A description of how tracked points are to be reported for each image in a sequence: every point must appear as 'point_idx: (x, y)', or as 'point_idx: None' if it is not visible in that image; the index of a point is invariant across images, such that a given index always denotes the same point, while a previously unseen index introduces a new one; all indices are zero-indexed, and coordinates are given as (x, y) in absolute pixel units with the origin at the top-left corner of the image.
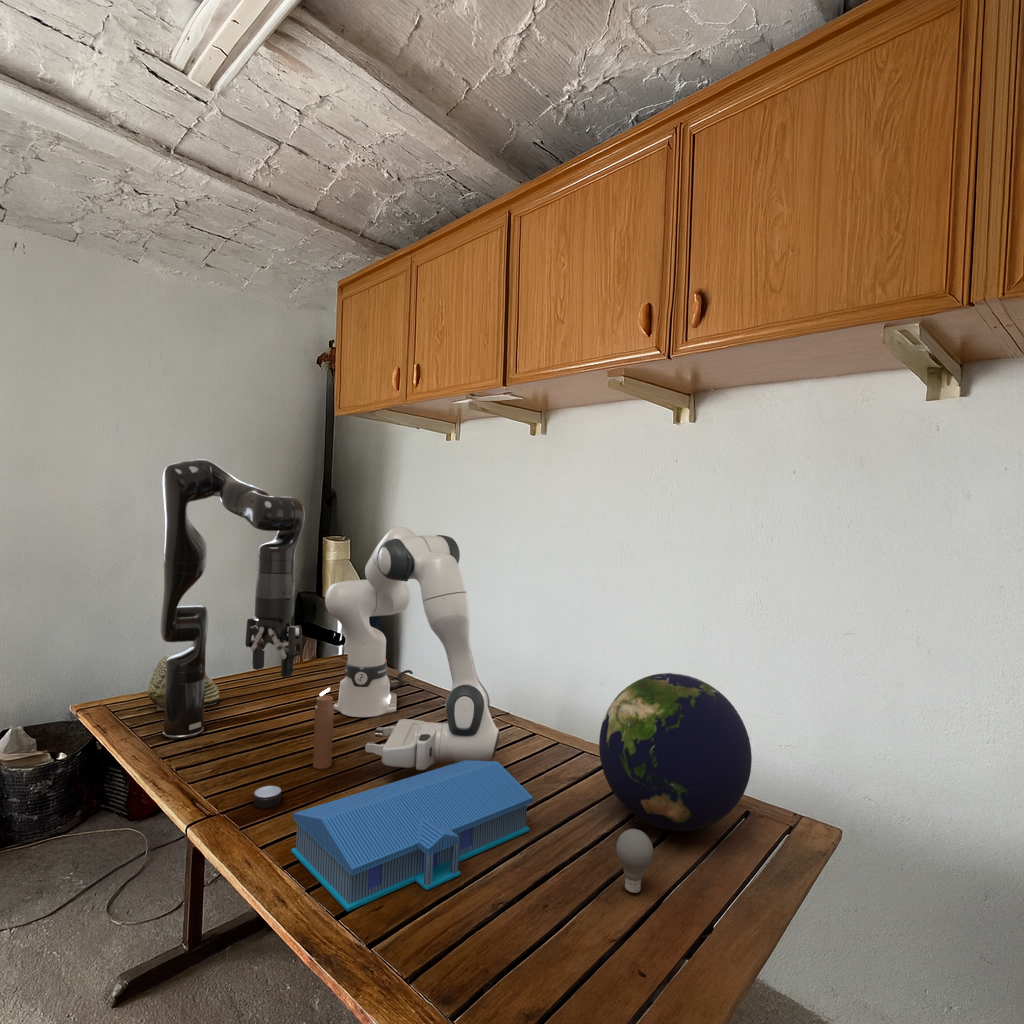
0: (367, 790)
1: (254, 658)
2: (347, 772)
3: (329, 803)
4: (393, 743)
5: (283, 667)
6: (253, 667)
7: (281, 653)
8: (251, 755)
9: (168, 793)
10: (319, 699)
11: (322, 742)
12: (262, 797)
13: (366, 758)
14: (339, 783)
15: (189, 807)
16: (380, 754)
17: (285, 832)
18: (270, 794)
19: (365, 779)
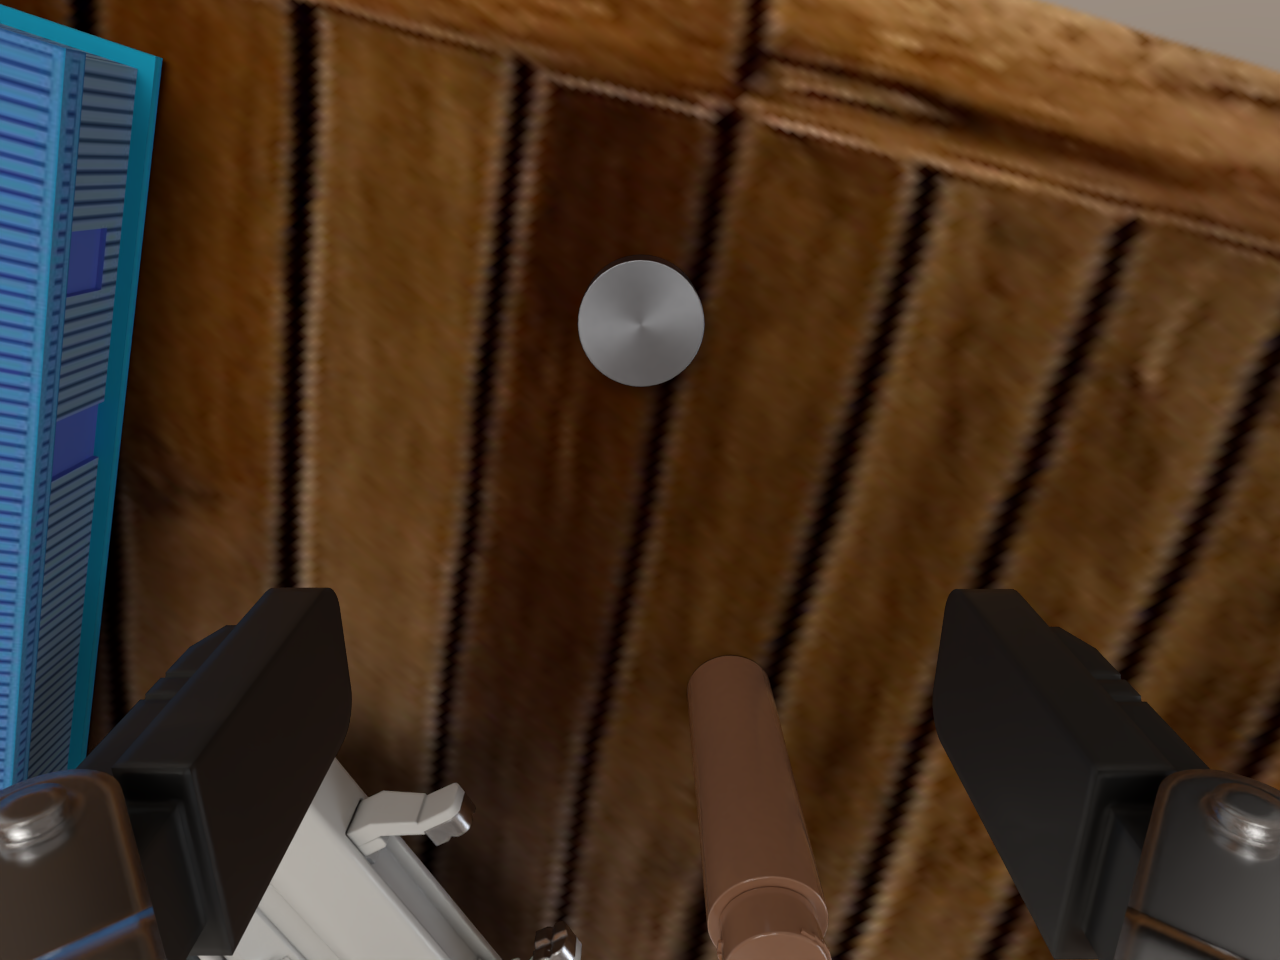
0: (33, 469)
1: (1062, 684)
2: (582, 700)
3: (10, 238)
4: (306, 866)
5: (205, 663)
6: (1003, 592)
7: (111, 857)
8: (1095, 588)
9: (1135, 85)
10: (777, 934)
11: (710, 743)
12: (610, 267)
13: (620, 828)
14: (527, 613)
15: (914, 54)
16: (376, 796)
17: (340, 171)
18: (603, 310)
19: (468, 695)
